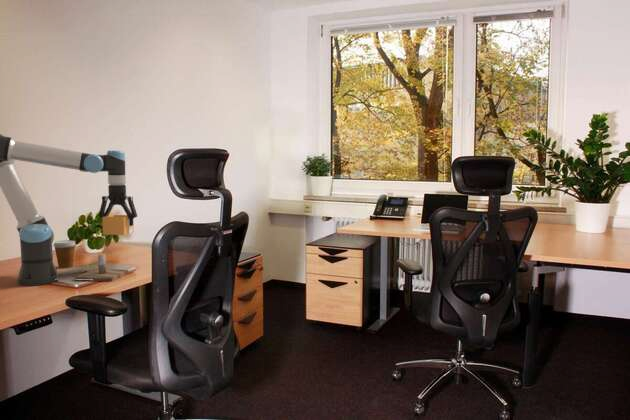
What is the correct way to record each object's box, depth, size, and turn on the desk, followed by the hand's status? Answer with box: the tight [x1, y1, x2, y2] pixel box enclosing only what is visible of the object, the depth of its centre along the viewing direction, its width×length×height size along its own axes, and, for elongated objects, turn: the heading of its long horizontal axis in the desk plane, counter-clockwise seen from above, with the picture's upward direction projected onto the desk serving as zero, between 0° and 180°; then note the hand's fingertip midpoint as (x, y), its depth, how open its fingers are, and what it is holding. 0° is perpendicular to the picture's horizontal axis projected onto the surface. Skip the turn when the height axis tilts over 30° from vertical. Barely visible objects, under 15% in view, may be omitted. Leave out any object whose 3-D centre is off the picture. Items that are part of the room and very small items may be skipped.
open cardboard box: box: [101, 214, 135, 236], centre depth 249 cm, size 10×10×8 cm
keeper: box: [74, 253, 129, 282], centre depth 234 cm, size 16×16×10 cm
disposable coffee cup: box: [53, 239, 77, 269], centre depth 254 cm, size 10×10×12 cm
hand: (118, 232), depth 249 cm, fingers closed on open cardboard box, 10 cm apart
